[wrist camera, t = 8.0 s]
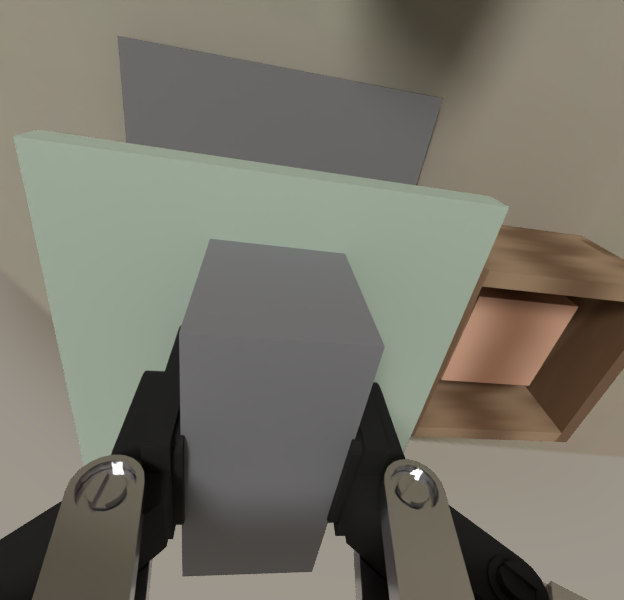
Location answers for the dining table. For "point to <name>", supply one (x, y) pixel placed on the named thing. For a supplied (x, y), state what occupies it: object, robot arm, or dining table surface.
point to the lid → (248, 319)
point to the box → (531, 342)
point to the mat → (272, 114)
